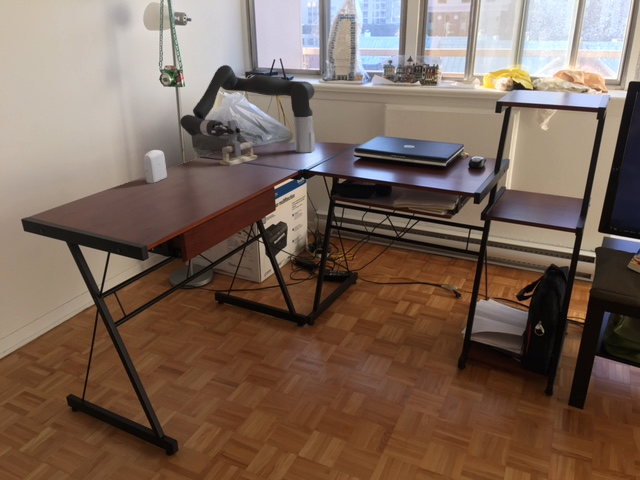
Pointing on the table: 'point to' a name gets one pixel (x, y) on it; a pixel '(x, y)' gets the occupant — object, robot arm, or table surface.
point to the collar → (233, 139)
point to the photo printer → (154, 166)
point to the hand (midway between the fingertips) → (236, 131)
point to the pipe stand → (238, 159)
